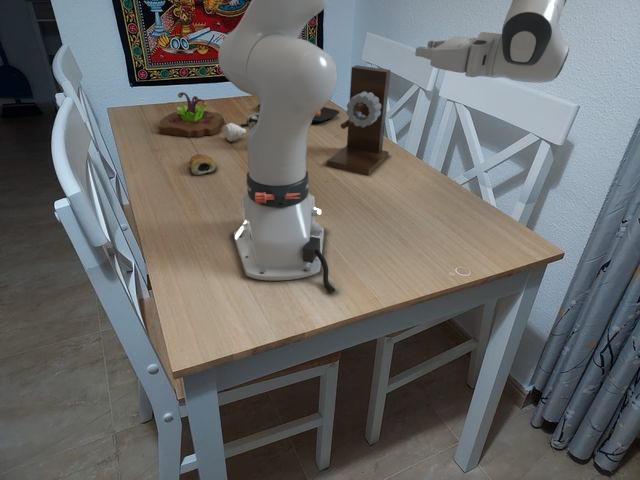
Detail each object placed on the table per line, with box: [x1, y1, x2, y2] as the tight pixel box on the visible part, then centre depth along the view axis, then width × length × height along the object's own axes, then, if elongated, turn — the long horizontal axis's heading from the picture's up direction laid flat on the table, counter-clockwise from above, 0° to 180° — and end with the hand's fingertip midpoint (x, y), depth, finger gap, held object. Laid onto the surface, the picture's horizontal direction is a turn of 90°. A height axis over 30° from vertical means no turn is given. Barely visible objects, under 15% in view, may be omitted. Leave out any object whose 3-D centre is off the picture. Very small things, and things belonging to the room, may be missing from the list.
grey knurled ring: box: [345, 91, 381, 127], centre depth 118 cm, size 4×8×8 cm, turn 62°
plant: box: [158, 91, 225, 138], centre depth 145 cm, size 20×20×11 cm
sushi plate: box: [240, 103, 340, 127], centre depth 156 cm, size 29×30×4 cm
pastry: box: [188, 153, 217, 176], centre depth 120 cm, size 9×7×4 cm
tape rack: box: [326, 64, 391, 176], centre depth 121 cm, size 15×12×24 cm
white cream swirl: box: [224, 122, 247, 143], centre depth 138 cm, size 6×6×5 cm
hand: (422, 47), depth 103 cm, fingers open, 8 cm apart
